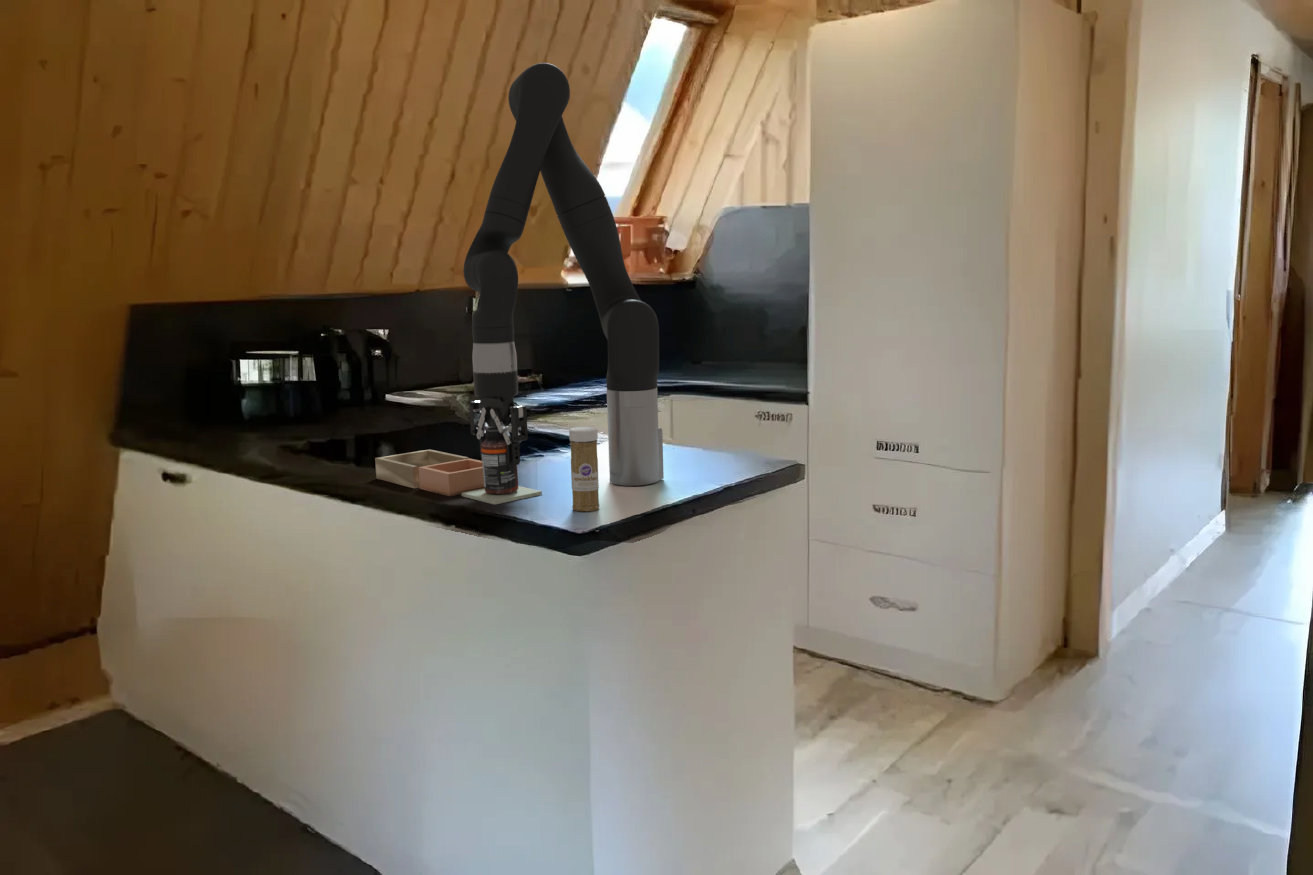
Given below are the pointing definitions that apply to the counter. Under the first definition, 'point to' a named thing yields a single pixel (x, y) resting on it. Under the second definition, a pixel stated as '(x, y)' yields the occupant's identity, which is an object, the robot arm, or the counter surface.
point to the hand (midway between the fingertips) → (500, 462)
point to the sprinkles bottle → (584, 468)
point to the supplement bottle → (497, 465)
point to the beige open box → (410, 466)
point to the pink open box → (452, 477)
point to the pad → (498, 499)
